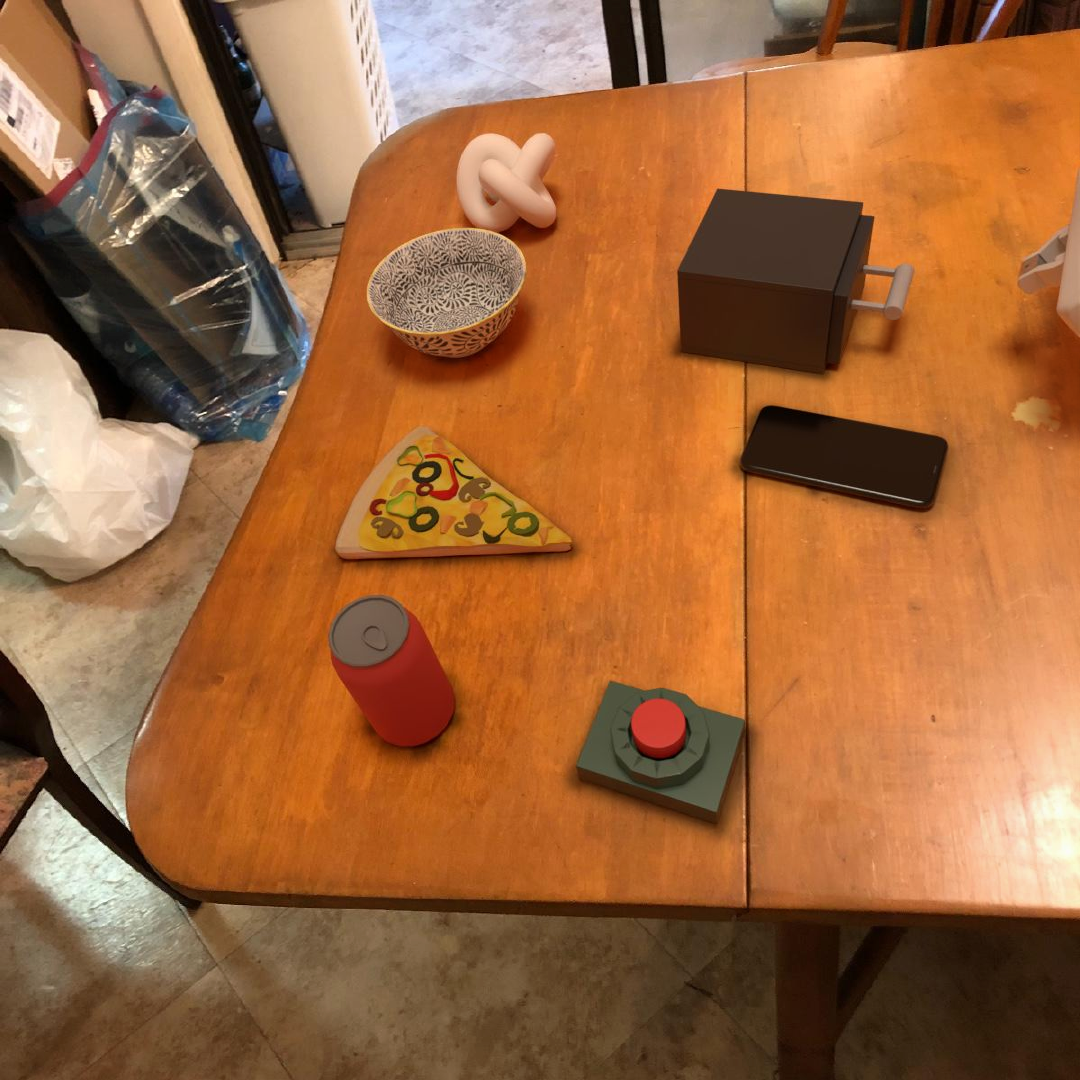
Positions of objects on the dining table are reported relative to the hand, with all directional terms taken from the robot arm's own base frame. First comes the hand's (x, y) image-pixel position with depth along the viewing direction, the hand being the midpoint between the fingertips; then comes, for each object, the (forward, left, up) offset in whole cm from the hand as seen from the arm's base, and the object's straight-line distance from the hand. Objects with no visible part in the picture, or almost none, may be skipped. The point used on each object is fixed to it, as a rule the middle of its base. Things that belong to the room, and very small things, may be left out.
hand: (1023, 278), depth 78 cm
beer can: (+36, +49, -8) cm, 61 cm away
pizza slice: (+40, +31, -8) cm, 51 cm away
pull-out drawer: (+17, 0, -7) cm, 19 cm away
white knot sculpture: (+54, -11, -8) cm, 55 cm away
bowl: (+51, +9, -8) cm, 52 cm away
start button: (+17, +46, -5) cm, 49 cm away
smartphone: (+11, +16, -8) cm, 21 cm away
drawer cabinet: (+21, 0, -8) cm, 23 cm away
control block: (+17, +46, -8) cm, 50 cm away
